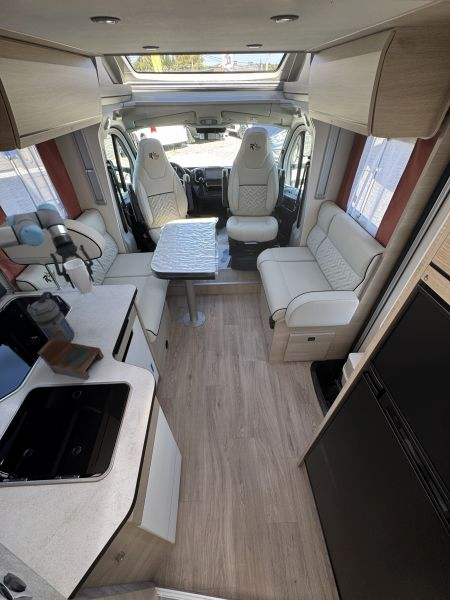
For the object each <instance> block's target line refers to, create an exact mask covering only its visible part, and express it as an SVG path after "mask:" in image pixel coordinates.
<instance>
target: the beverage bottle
mask: <svg viewBox="0 0 450 600" xmlns="http://www.w3.org/2000/svg"><path fill="white" fill-rule="evenodd" d="M26 312H27V313H28V314H29V316H30V317H31V319H32V320H33V321H34V322H36V323H35V324H36V325H37V326H38V328H39V329H40V330H41V331H42V332H43V334H44V335H45V337H46V338H47V340H48V341H49V340H50V339H51V338H52V337H53V336H54V335H55V334H56V333H57V331H58V330H61V331H62V332H63V333H64V335H65V336H66V337H67V339H68V340H69V342H70V343H71V342H72V340H74V338H75V331H74V329H73V327H72V326H71V325H70V323H69V321H68V319H67V318H66V316H65V315H64V313H63V312H62V311H61V310H60V306H59V305H58V303H57V301H56V299H55V297H54V295H53V293H52V292H51V291H44V292H43V293H42V294H41V295H40V298H39V299H38V300H36V301H35V302H32V304H30V303H29V304H28V305H27V307H26Z"/></svg>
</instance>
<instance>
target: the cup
mask: <svg viewBox="0 0 450 600" xmlns="http://www.w3.org/2000/svg"><path fill="white" fill-rule="evenodd" d="M63 265H64V267H65V269H66V274H68V275H69V277H70V279H71V281H72V283H73V285H74V287H75V288H76V289H77V291H78V292H79V293H80V294H81V295H85V294H88V293H90V292H92V291H93V290H94V289H95V288H94V284H93V282H92V280H91V278H90V275H89V273H88V271H87V269H86V266H85V264H84V262H83V261H82V260H81V259H80V258H74V259H71V260H68V261H66V262H65V263H64V264H63Z"/></svg>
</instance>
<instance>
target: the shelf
mask: <svg viewBox="0 0 450 600" xmlns="http://www.w3.org/2000/svg"><path fill="white" fill-rule="evenodd" d="M37 354H38V356H39V357H40V358H41V360H43V361H44V363H45V364H46V365H47V366H48V367H49V369H50V370H51V371H52V372H53V373H54V374H57V375H63V376H67V377H71V378H76V379H81V380H86V381H88V380H89V378H90V375H89V373H88V372H87V369H88V368H89V366H90V365H91V364H92V363H93V361H94V360H95V359H99V360H103V358H104V357H105V355H104V354H103V352H102V350H101V348H100V347H97V346H92V345H91V346H90V345H87V344H86V345H85V344H79V343H74V342H71V341H70V342H69V340H68V339H67V337H66V336H65V335H64V333H63V332H62V331H61V330H58V331H57V333H56V334H55V335H54V336H53V337H52V338H51V339H50V340H49V339H48V341H47V342H46V343H45V344H44V345H43V346H42V347H41V348H40V349H39V350H38V351H37Z"/></svg>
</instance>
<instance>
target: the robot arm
mask: <svg viewBox="0 0 450 600" xmlns="http://www.w3.org/2000/svg"><path fill="white" fill-rule="evenodd" d="M5 221H6V223H7V225H6V226H0V250H4V249H9V248H13V247H19V246H24V245H27V246H30V247H38V246H41V245H42V244H43V243H44V242H45V233H44V230H46V231H47V234H48V236H49V238H50V240H51V241H52V244H53V247H54V248H55V252H52V253H49V256H50V257H51V259H52V261H53V264H54V267H55V271H56V275H57V276H59V277H63V278H64V280H65V282H66V283H70V284H69V285H70V286H71V287H72V288H71V289H73V290H74V289H76V286H75V284H74V283H73V281H72V280H71V278H70V276H69V275H68V273H67V271H66V269H65V267H64V265H63V264H64V263H65V262H68V261H67V260H68V259H70V258H74V257H75V259H77V258H80V259H81V260H82V261H83V262H84V264H85V267H86V269H87V271H88V273H89V276H90V278H91V281H92V283H93V282H95V279H94V277H93V274H94V271H93V269H92V266H94V262H93V260H92V258H91V257H90V256H89V254H88V253H87V251H86V250H85V247H84V244H80V245H76V244H75V243H74V240H73V238H72V237H71V235H70V233H69V230H68V228H67V226H66V224H65V222H64V220H63V218H62V215H61V213H60V212H59V210H58V209H57V206H56V205H54V204H53V203H50V202H44V203H42V204H39V205H38V206H37V207H36V211H30V212H24V213H18V214H17V213H16V214H15V213H14V214H11V215H7V216H6V217H5ZM77 251H79V252H81V253H82V254H83V256H84V257H85V259H86V260H87V261H86V260H85V259H84V258H83V257H81V255H79V254H78V253H77ZM58 256H60V257H61V263H62V264H61V269H60V264H59V262H58Z"/></svg>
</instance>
